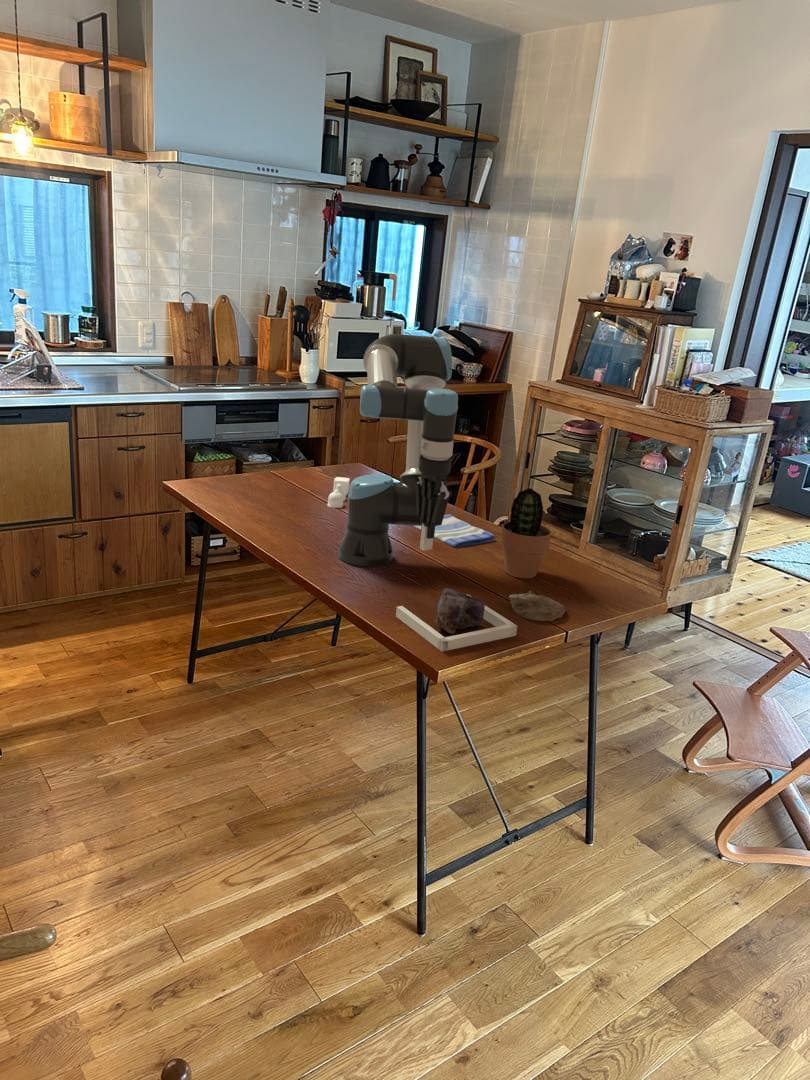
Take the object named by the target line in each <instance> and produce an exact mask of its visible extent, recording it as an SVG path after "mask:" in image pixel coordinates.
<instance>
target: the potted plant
mask: <svg viewBox="0 0 810 1080" xmlns="http://www.w3.org/2000/svg"><path fill="white" fill-rule="evenodd" d="M543 515H544V505H543V501H542V496H541V494H540V493H538V491H536V490H534V489H532V488H531V487H530V488H527V489H523V490H522V491H519V492H518V493H517V496H516V497H514V499H513V502H512V506H511V509H510V519H509V520H510V521H507V522H504V523H503V524H502V525H501V535H500V536H501V537H500V543H501V545H502V547H503V561H504V572H505V573H506V574H507V575H509V576H511V577H514V578H519V579H532V578H534V577H536V576H537V574H538V571H539V569H540V566H541V563H542V560H543V559H544V556H545V552H546V551H548V549H549V548H550V543H551V538H552V537H551V536H552V533H553V531H552V530H551V529H550V528H549V527H548V526H546V525H543V524H542V519H543Z"/></svg>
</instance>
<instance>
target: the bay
mask: <svg viewBox="0 0 810 1080" xmlns="http://www.w3.org/2000/svg"><path fill="white" fill-rule="evenodd" d="M466 595H469V596H471V595H470V594H466ZM484 609H485V610H484V616H483V620H485V621H486V622H488V623H489V624H491V625H492V626H493V627H489V628H484V629H479V630H475V631H474V630H473V631H470V632H469V631H468V632H466V633H465V632H464V633H461V634H456V635H455V634H453V635H450V636H443V634H441V633H439V632H438V631H437V630H436V629H434V628H433V627H432V626H430V625H429V624H428V623H426V622H425V621H423V620H422V619H420V617H418V616H416V615H415V614H414V613H412V612H411V611H410V610H408V609H407V608H406V607H404V606H403V605H399V606H396V610H395V617H396V618H397V619H399V620H400V621H402V622H403V623H404V624H405V625H406V626H408V627H409V628H410V629H412V630H413V631H414V632H415V633H417V634H418V635H419V636H421V637H422V638H423V639H424V640H426V641H427V642H429V643H430V644H431V645H433V647H435V648H436V649H438V650H439V651H440V652H442V653H443V652H447V651H450V650H456V649H461V648H466V647H469V646H474V645H479V644H485V643H488V642H494V641H498V640H503V639H507V638H511V637H515V636H517V632H518V625H517V624H515V623H513V622H512V621H510V620H509V619H507V618H506V617H504V616H503V615H501V614H499V613H498V612H496V611H495V610H493V609H491V608H490V607H488V606H487V605H485V608H484Z"/></svg>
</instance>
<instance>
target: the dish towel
mask: <svg viewBox="0 0 810 1080" xmlns="http://www.w3.org/2000/svg"><path fill="white" fill-rule="evenodd" d="M410 526H411V527H413V528H415V529H417V530H418V531H420V532H421V526H413V525H410ZM495 538H496V537H495V534H493V533H492V532H489V531H487V530H484V529H482V528H480V527H476V526H473V525H471V524H470V523H468V522H466V521H464V520H462V519H458V518H457V517H455V516H454V515H453V514H450V513H449V514H444V518H443V521H442V524H441V525H438V526H435V534H434V538H433V539H436V540H438V542H439V541H440V542H442V543H444V544H446V545H448V546H450V547H453V548H461V547H468V546H469V547H470V546H474V545H481V544H485V543H492V542H495V540H494V539H495Z"/></svg>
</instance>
